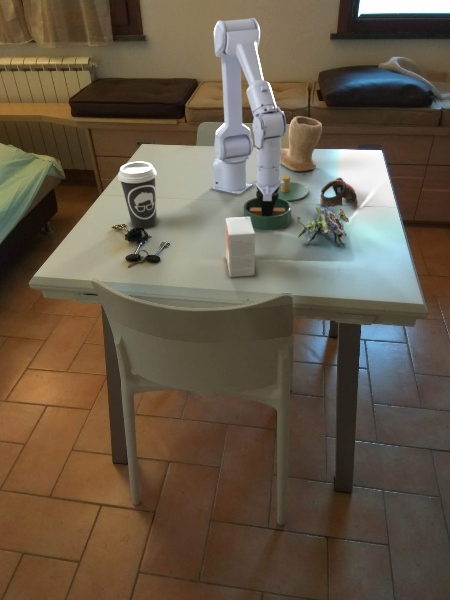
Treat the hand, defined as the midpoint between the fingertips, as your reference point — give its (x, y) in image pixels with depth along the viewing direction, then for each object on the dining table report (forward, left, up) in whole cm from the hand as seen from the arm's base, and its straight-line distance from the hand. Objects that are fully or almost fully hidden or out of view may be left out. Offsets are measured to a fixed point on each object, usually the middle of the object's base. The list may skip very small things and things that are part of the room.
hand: (267, 215), depth 124 cm
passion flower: (+17, -5, -2) cm, 18 cm away
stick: (0, 0, -1) cm, 1 cm away
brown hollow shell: (+13, +17, -2) cm, 21 cm away
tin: (0, 0, -2) cm, 2 cm away
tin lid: (-3, +17, -1) cm, 17 cm away
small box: (+5, -23, -2) cm, 24 cm away
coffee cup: (-28, -16, -2) cm, 32 cm away
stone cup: (-9, +39, -2) cm, 40 cm away
